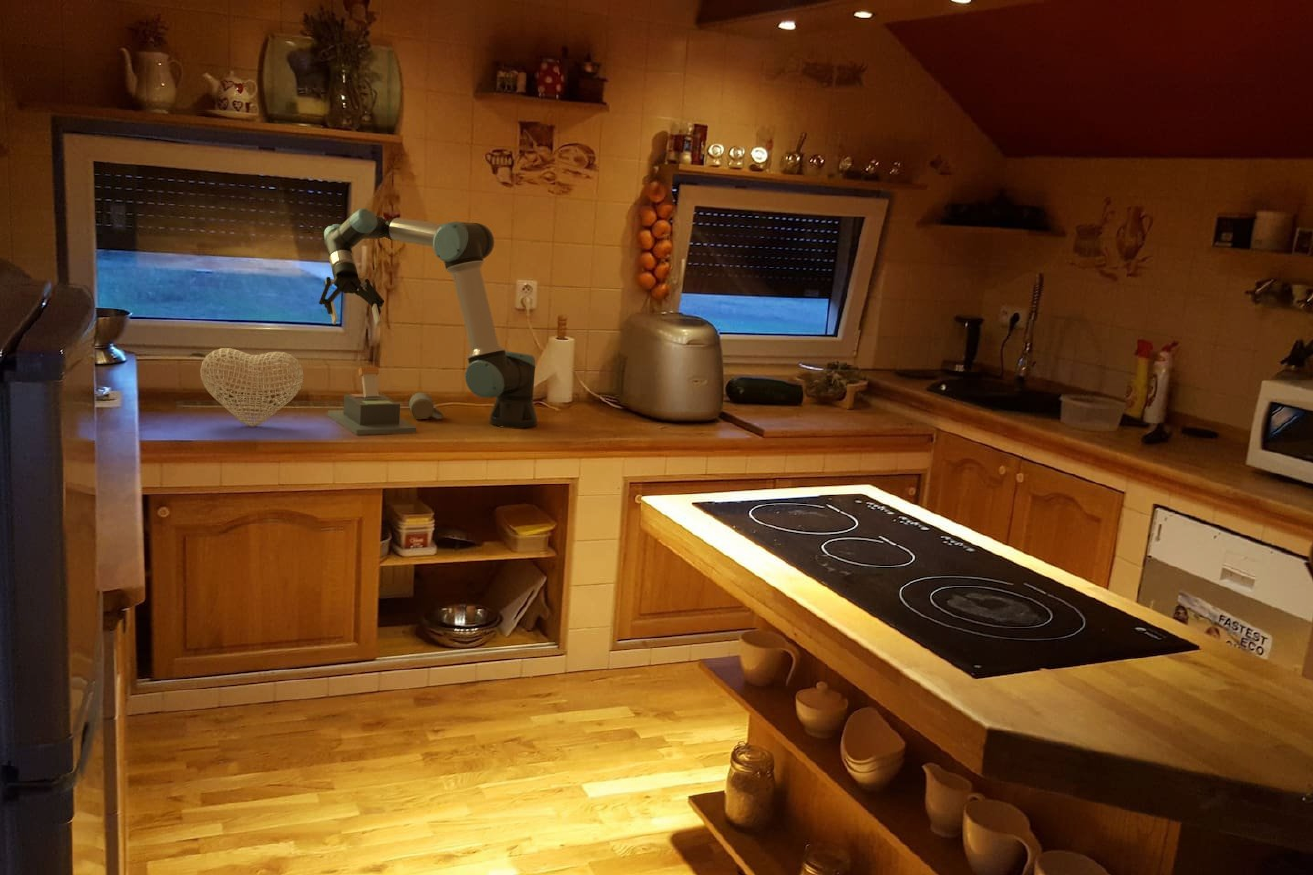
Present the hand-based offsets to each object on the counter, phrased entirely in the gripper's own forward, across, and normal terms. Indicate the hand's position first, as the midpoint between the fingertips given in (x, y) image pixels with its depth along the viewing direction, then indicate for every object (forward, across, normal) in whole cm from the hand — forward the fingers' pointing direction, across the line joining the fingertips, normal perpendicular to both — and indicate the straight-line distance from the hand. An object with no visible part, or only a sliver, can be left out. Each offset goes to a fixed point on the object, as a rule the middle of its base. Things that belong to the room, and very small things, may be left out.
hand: (357, 322), depth 340 cm
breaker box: (+32, 0, -8) cm, 33 cm away
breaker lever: (+27, 0, -3) cm, 27 cm away
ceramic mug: (+29, -20, -12) cm, 37 cm away
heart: (+31, +34, -10) cm, 47 cm away
